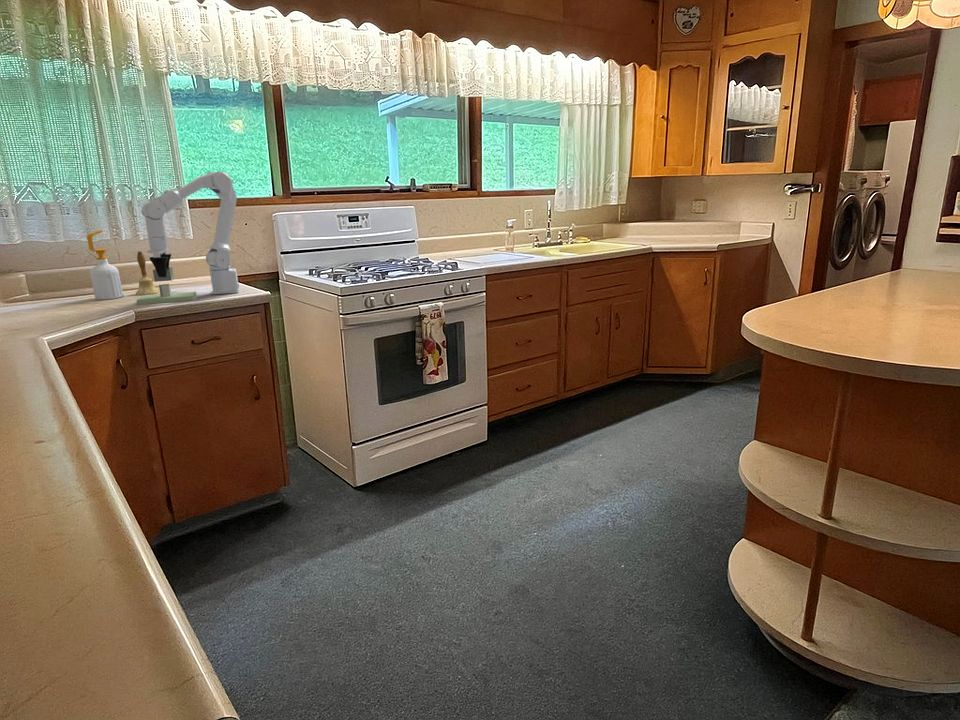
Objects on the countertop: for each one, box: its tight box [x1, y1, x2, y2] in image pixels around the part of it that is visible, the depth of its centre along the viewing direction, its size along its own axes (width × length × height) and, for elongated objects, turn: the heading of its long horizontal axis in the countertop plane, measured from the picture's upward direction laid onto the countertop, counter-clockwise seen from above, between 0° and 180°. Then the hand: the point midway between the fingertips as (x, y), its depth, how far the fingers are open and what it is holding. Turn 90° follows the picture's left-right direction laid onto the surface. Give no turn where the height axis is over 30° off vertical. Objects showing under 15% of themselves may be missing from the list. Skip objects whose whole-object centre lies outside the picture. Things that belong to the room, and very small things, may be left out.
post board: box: [136, 283, 198, 305], centre depth 219 cm, size 18×10×6 cm, turn 108°
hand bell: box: [135, 251, 160, 296], centre depth 233 cm, size 8×8×16 cm
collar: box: [152, 266, 175, 282], centre depth 217 cm, size 5×5×4 cm
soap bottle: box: [86, 229, 124, 301], centre depth 224 cm, size 9×9×25 cm
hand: (163, 275), depth 218 cm, fingers closed on collar, 5 cm apart
